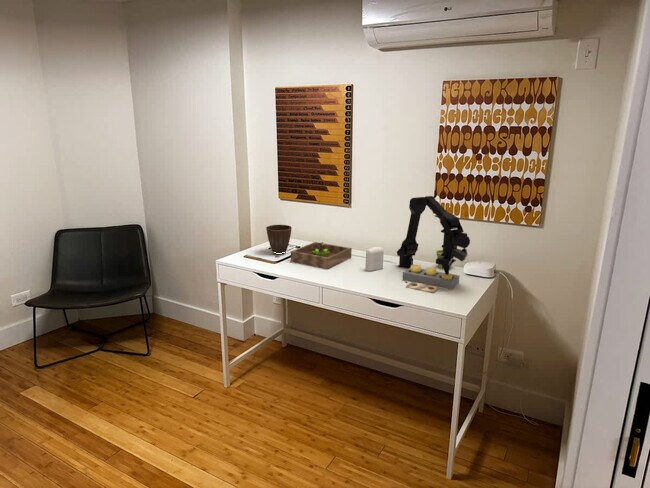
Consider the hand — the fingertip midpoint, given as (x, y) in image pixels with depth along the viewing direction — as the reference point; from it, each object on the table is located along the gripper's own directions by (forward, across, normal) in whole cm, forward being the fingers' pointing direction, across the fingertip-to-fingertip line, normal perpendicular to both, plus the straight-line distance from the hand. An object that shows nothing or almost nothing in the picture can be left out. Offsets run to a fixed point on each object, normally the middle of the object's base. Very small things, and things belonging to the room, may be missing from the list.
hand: (446, 274), depth 220 cm
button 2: (+3, 0, +8) cm, 8 cm away
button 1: (+3, 0, +16) cm, 16 cm away
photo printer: (+6, +2, +40) cm, 40 cm away
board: (+5, 0, +8) cm, 10 cm away
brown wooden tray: (+5, +1, +73) cm, 73 cm away
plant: (+6, +1, +73) cm, 73 cm away
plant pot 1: (+6, -2, +101) cm, 101 cm away
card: (+5, -10, +8) cm, 14 cm away
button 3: (+4, 0, 0) cm, 4 cm away
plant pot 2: (+6, +26, +10) cm, 28 cm away
